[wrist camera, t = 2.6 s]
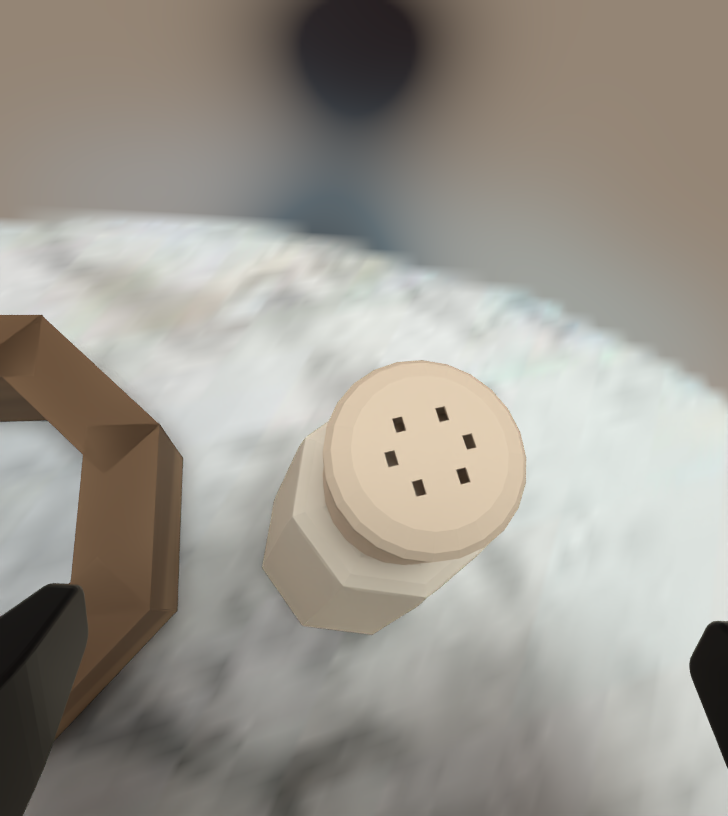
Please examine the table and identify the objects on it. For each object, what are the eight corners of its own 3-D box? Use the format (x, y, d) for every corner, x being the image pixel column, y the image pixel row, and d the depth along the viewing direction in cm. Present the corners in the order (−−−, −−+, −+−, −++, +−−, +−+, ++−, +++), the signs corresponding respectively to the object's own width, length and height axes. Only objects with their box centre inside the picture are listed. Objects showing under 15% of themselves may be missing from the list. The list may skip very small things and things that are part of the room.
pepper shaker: (282, 662, 16) (270, 745, 6) (244, 482, 18) (184, 307, 8) (455, 609, 17) (695, 603, 7) (404, 444, 19) (540, 246, 9)
